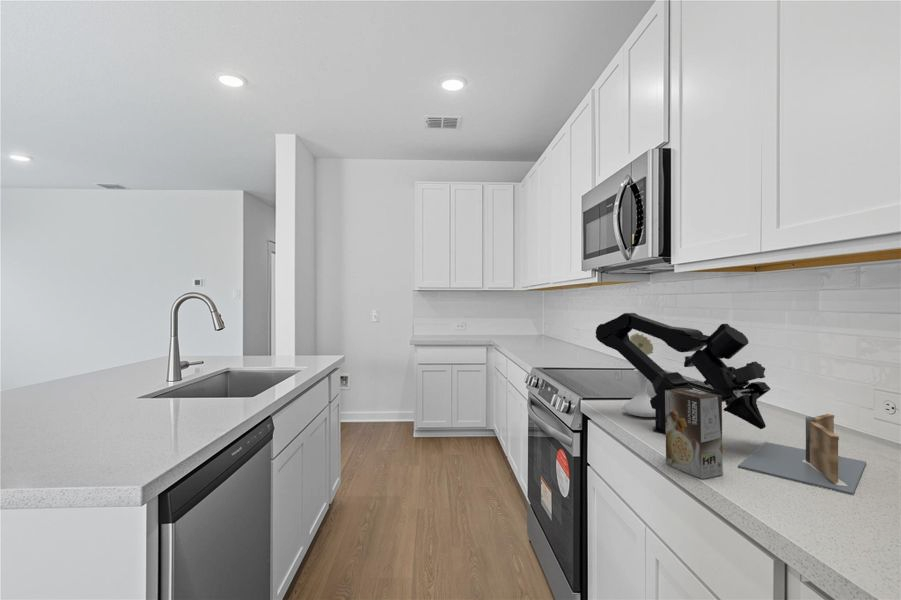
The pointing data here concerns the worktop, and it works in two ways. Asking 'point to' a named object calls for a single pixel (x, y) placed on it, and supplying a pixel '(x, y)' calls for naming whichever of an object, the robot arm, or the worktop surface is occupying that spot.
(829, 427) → the fence fixed
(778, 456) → the mat
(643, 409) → the flower in vase
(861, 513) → the worktop surface
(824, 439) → the fence panel
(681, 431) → the coffee box
